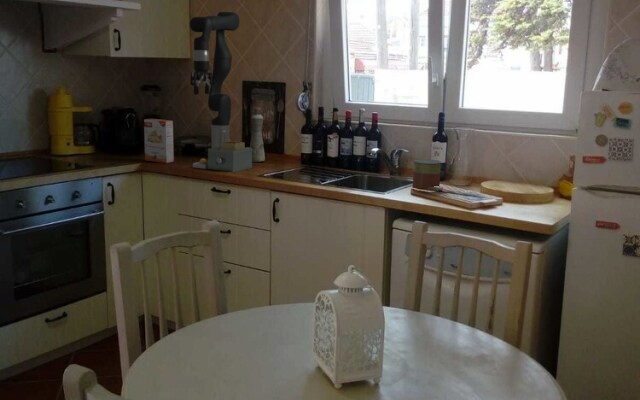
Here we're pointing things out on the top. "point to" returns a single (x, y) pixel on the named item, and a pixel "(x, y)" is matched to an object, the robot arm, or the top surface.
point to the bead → (203, 161)
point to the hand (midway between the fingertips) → (201, 94)
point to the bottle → (257, 137)
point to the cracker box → (158, 140)
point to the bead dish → (200, 165)
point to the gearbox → (230, 157)
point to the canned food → (426, 173)
